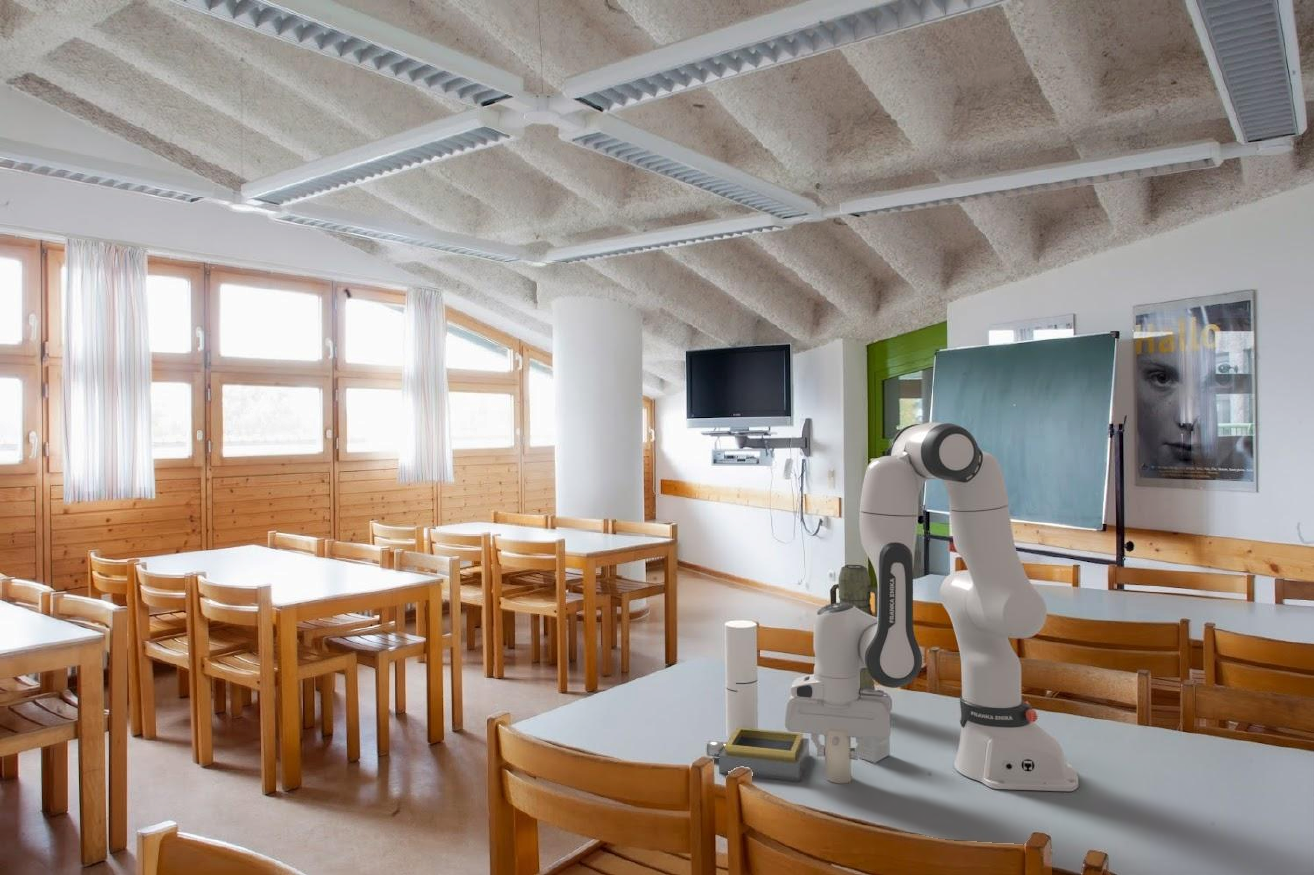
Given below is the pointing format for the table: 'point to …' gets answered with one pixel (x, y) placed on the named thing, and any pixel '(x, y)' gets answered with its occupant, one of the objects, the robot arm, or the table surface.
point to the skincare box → (874, 750)
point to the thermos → (857, 601)
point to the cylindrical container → (741, 675)
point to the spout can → (837, 757)
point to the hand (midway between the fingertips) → (837, 757)
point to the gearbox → (763, 753)
